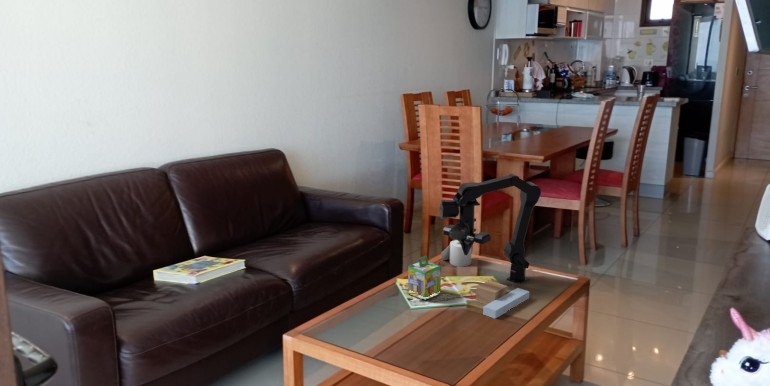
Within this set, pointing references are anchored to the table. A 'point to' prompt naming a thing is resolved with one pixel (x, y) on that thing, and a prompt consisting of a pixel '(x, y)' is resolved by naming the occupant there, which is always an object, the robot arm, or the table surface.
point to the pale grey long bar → (505, 303)
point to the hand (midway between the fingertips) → (466, 255)
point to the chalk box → (424, 277)
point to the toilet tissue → (456, 254)
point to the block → (490, 292)
